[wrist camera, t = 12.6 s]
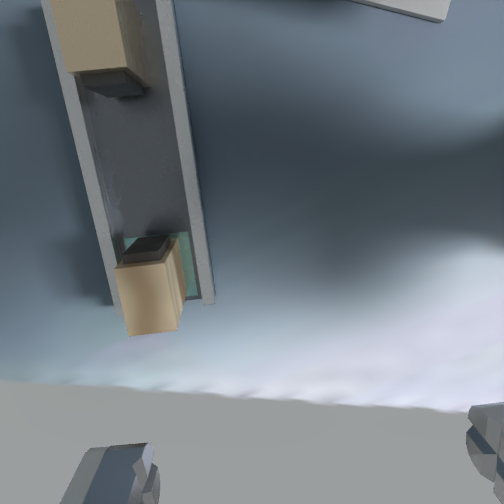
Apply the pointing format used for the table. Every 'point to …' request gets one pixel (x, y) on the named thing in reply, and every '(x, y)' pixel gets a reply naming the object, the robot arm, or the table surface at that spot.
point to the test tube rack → (414, 7)
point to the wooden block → (151, 285)
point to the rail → (132, 129)
